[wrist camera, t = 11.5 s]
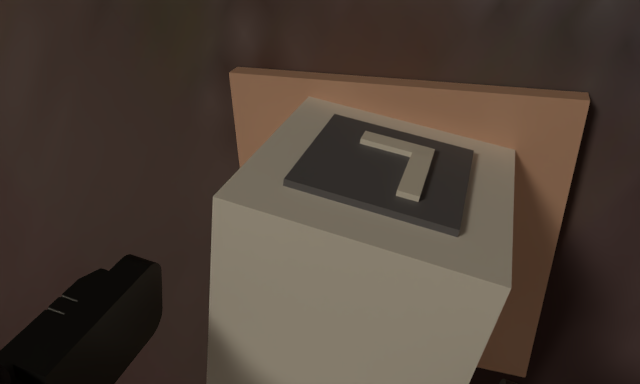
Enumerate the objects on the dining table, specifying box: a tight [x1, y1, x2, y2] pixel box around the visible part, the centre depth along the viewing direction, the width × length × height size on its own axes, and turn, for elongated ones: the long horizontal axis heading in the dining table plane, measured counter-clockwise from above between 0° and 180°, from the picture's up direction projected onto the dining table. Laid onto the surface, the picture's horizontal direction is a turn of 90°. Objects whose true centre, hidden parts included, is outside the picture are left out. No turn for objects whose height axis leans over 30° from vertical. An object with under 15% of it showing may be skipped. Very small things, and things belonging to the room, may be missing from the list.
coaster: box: [229, 67, 590, 377], centre depth 18 cm, size 10×10×1 cm
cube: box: [207, 97, 515, 384], centre depth 14 cm, size 6×6×6 cm
